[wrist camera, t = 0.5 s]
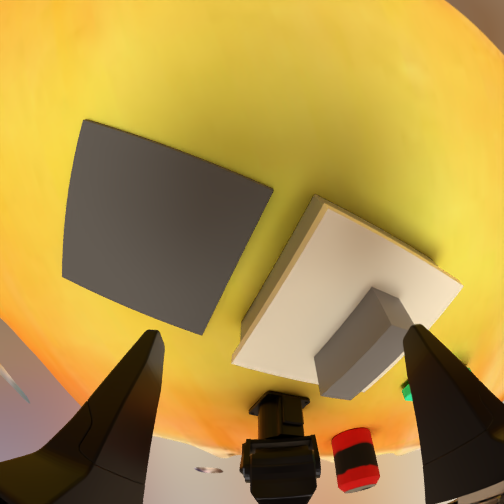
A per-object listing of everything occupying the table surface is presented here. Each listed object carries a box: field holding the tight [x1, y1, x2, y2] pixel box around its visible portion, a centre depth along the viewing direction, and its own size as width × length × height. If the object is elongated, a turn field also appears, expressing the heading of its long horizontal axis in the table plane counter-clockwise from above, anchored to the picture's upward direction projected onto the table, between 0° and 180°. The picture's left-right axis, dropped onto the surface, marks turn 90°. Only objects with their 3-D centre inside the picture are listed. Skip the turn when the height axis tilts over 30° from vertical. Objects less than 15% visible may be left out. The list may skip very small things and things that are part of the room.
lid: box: [231, 203, 463, 400], centre depth 19 cm, size 15×15×5 cm
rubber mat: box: [62, 120, 274, 335], centre depth 22 cm, size 16×16×1 cm
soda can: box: [332, 428, 380, 493], centre depth 37 cm, size 8×8×12 cm
